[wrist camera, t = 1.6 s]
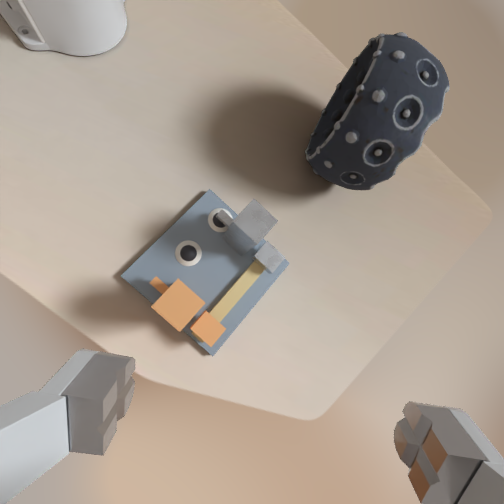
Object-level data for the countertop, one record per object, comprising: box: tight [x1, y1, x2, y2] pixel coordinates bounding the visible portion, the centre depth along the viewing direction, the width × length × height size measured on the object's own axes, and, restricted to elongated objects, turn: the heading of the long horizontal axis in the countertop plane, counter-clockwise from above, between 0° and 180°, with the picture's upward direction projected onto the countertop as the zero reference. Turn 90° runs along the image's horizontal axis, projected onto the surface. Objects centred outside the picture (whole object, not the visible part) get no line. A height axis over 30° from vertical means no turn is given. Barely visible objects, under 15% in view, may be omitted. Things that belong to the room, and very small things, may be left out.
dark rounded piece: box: [305, 32, 449, 190], centre depth 42 cm, size 11×20×20 cm, turn 156°
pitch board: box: [121, 189, 289, 356], centre depth 42 cm, size 17×18×2 cm
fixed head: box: [216, 199, 285, 274], centre depth 39 cm, size 12×4×10 cm, turn 49°
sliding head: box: [150, 276, 226, 347], centre depth 35 cm, size 12×4×10 cm, turn 49°
